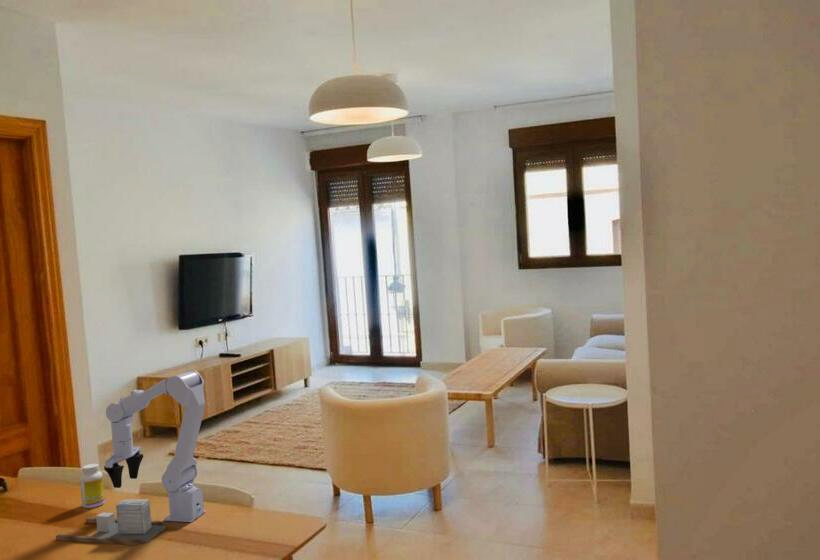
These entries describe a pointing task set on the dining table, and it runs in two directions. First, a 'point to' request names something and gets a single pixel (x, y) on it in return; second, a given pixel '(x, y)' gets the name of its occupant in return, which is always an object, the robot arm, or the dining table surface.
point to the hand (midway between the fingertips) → (125, 482)
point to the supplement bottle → (92, 486)
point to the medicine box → (133, 516)
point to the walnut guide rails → (101, 539)
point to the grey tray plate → (110, 529)
